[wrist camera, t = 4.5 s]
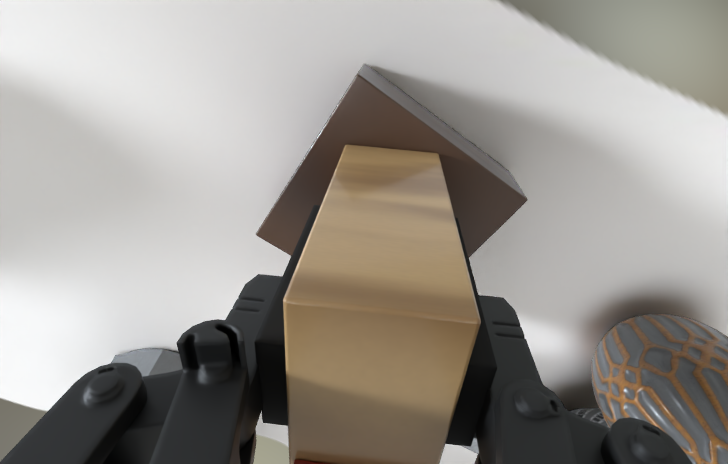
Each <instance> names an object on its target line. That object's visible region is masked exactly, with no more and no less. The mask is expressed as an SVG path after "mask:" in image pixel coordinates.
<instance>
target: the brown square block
mask: <svg viewBox="0 0 728 464" xmlns="http://www.w3.org/2000/svg"><path fill="white" fill-rule="evenodd" d="M345 145H357V146H367V147H378V148H388V149H399V150H409V151H419V152H430V153H437V154H439V158H440V162H441V166H442V170H443V174H444V177H445V181H446V185H447V189H448V193H449V197H450V201H451V205H452V209H453V213H454V217H455V218H458V221H459V225H460V228H461V232H462V236H463V240H464V243H465V247H466V251H467V255H468V258H469V257H470V256H471V255H472V254H473V253H474V252H475V251H476V250H477V249H478V248H479V247H480V246H481V245H482V244H483V243H484V242H485V241H486V240H487V239H488V238H489V237H490V236H491V235H492V234H493V233H494V232H495V231H497V230H498V229H499V228H500V227H501V226H502V225H503V224H504V223H505V222H506V221H507V220H508V219H509V218H510V217H511V216H512V215H513V214H514V213H515V212H516V211H517V210H518V209H519V208H520V207H521V206H522V205H523V204H524V203H525V202H526V201H527V198H526V196H525V195H524V193H523V192H522V190H521V189H520V187H519V185H518V184H517V182H516V181H515V179H514V178H513V176H512V175H511V173H510V172H509V171H508V170H507V169H505V168H504V167H503V166H501V165H500V164H499V163H497V162H496V161H495V160H493V159H492V158H491V157H489V156H488V155H487V154H485V153H484V152H483V151H481V150H480V149H479V148H477V147H476V146H475V145H473V144H472V143H471V142H469V141H468V140H467V139H465V138H464V137H463V136H461V135H460V134H459V133H457V132H456V131H455V130H453V129H452V128H451V127H449V126H448V125H447V124H445V123H444V122H443V121H441V120H440V119H439V118H437V117H436V116H435V115H433V114H432V113H431V112H429V111H428V110H427V109H425V108H424V107H423V106H421V105H420V104H419V103H417V102H416V101H415V100H413V99H412V98H411V97H409V96H408V95H407V94H405V93H404V92H403V91H401V90H400V89H399V88H397V87H396V86H395V85H393V84H392V83H391V82H389V81H388V80H387V79H385V78H384V77H383V76H381V75H380V74H379V73H377V72H376V71H375V70H373V69H372V68H371V67H369V66H368V65H367V64H363V66H362V67H361V69H360V70H359V72H358V73H357V75H356V76H355V78H354V80H353V81H352V83H351V84H350V86H349V88H348V89H347V91H346V92H345V94H344V95H343V97H342V99H341V100H340V102H339V103H338V105H337V106H336V108H335V110H334V111H333V113H332V114H331V116H330V118H329V119H328V121H327V122H326V124H325V125H324V127H323V129H322V130H321V132H320V133H319V135H318V136H317V138H316V140H315V141H314V143H313V144H312V146H311V147H310V149H309V151H308V152H307V154H306V155H305V157H304V159H303V160H302V162H301V163H300V165H299V166H298V168H297V170H296V171H295V173H294V174H293V176H292V177H291V179H290V181H289V182H288V184H287V185H286V187H285V189H284V190H283V192H282V193H281V195H280V196H279V198H278V200H277V201H276V203H275V204H274V206H273V207H272V209H271V211H270V212H269V214H268V215H267V217H266V219H265V220H264V222H263V223H262V225H261V226H260V228H259V230H258V231H257V233H256V235H257V236H259V237H260V238H262V239H264V240H265V241H267V242H269V243H270V244H272V245H274V246H275V247H277V248H279V249H281V250H282V251H284V252H286V253H287V254H289V255H291V256H292V254H293V252H294V250H295V247H296V245H297V243H298V240H299V238H300V236H301V234H302V231H303V229H304V227H305V224H306V222H307V220H308V218H309V215H310V213H311V211H312V208H313V206H314V205H321V204H322V202H323V199H324V197H325V194H326V192H327V189H328V187H329V184H330V182H331V179H332V177H333V174H334V172H335V170H336V167H337V165H338V162H339V160H340V157H341V155H342V152H343V150H344V147H345Z"/></svg>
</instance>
